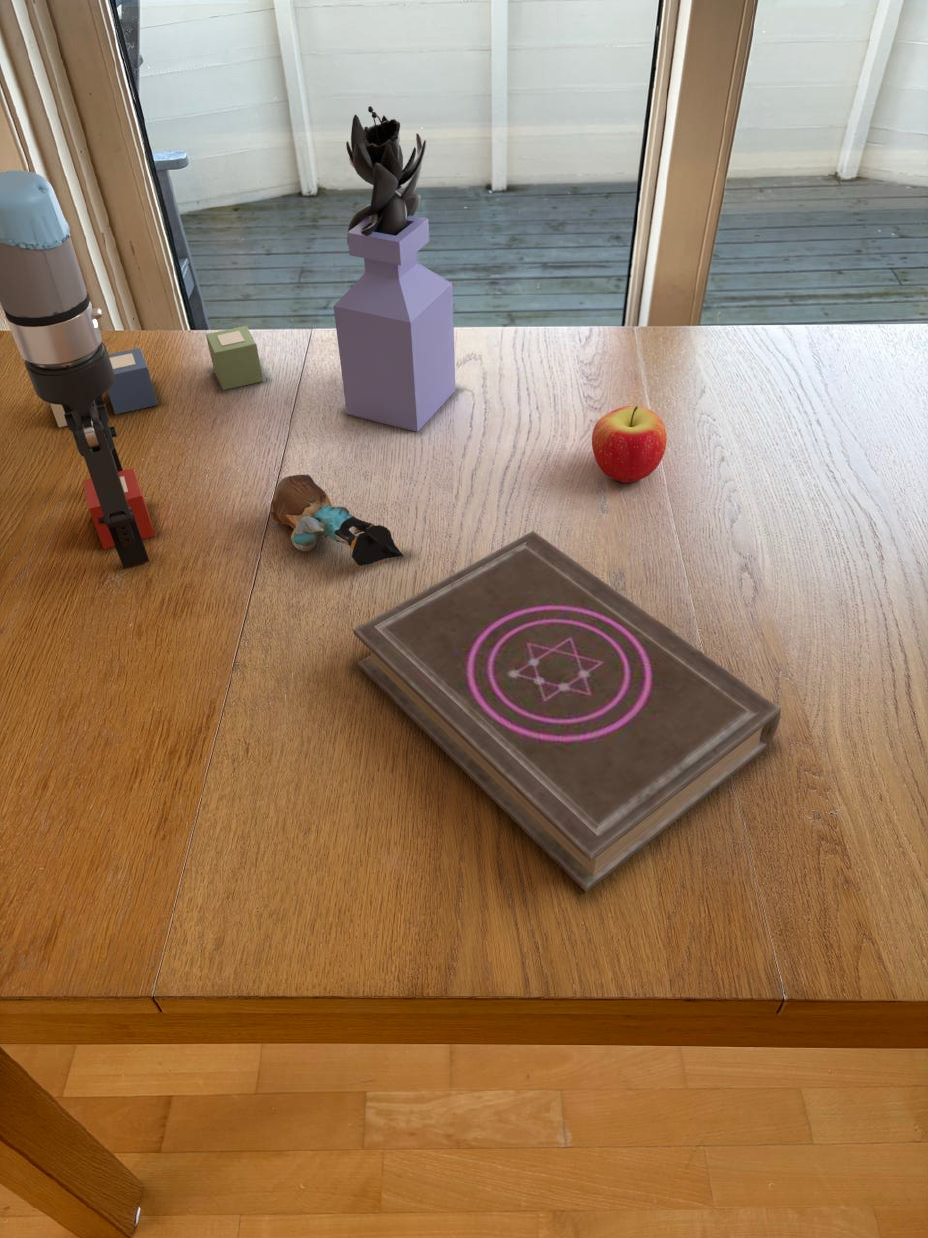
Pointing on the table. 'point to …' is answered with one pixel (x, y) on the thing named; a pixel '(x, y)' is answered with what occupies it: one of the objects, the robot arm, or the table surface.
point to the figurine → (327, 521)
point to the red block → (134, 502)
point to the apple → (629, 443)
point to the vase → (393, 293)
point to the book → (566, 702)
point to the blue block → (131, 382)
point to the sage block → (234, 357)
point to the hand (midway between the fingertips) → (126, 526)
